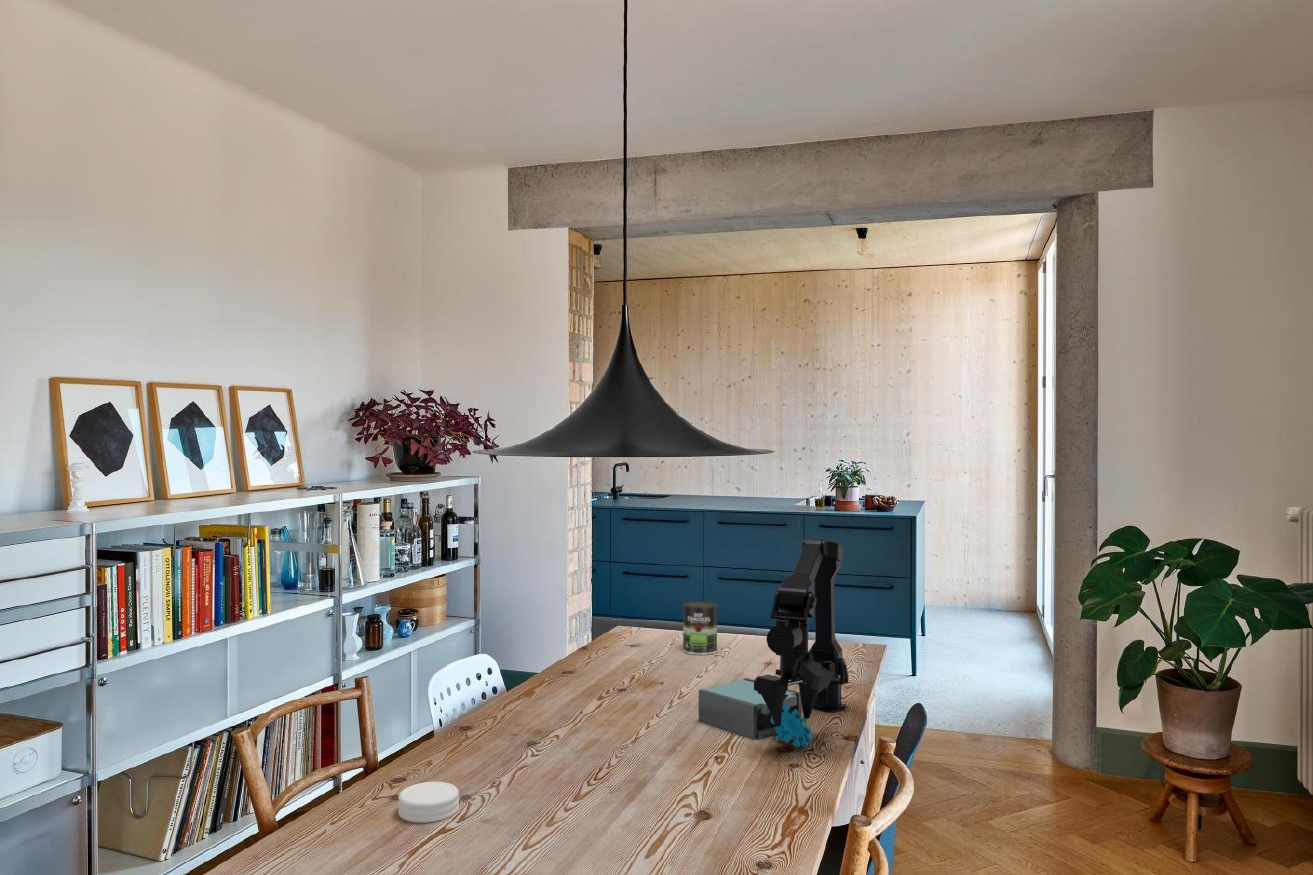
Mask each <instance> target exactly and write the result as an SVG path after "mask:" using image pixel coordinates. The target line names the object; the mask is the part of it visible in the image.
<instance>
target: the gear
mask: <svg viewBox="0 0 1313 875" xmlns="http://www.w3.org/2000/svg"><path fill="white" fill-rule="evenodd" d="M789 709H790V707H789V706H788V705H786V704H785V705H784V706H783V710H784V713H783V712H782V720H781V725H780V726H777V727H776V728H775V730H776V732H777V733H776V734H778V735H777V736H776V738H775V740H776V741H777V742H778V743H779V742H781V741H782V739H783V741H784V742H785V743H787V744H788V743H789V742H790V741H791V739H792V738H793V739H794V741H793V742H792V745H793V746H794V747H795V748H799V747H800V746H801V747H802V748H806V747H807V746H808V745H809V743H810V742H811V741H812V740H813V737H812V736H811V735H810V734H811V733H812V728H811V727H810V726H806V724H807V723H808V720H809V719H807V718H805V717H804V715H803V716H801V719H799V718H796V717H797V716H798V715H799V712H798V711H797V710H796V709H794V711H793V712H792V714H790V713H789V712H788V711H789ZM770 718H771V719H770V723H771V724H772V725H775V723H774V721H773V718H772V717H770Z"/></svg>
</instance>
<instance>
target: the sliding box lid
mask: <svg viewBox="0 0 1313 875" xmlns="http://www.w3.org/2000/svg"><path fill="white" fill-rule="evenodd" d="M743 679H744V678H743ZM743 679H739V680H735V681H731V682H727V683H723V684H719V685H715V686H711V687H707V688H703V690H706V691H710V692H713V693H716V694H720V695H723V696H727V697H730V698H733V699H737V700H740V701H744V702H747V703H750V704H754V705H757V709H759V708H761V713H764V714H769V713H770V711H769V709H768V707H767V705H766V703H765V701H764V699H763V697H762V695H761V694H758V691H755V690H754V682H751V681H747V680H743ZM785 694H787V695H788V696H787V697H786V699H785V700H784V701H783V706H784V705H785V704H786V705H788V706H789V707H792V706H795V705H797V696H796V693H793V692H789V691H786V693H785ZM782 709H783V708H782ZM764 714H763V715H764Z"/></svg>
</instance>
